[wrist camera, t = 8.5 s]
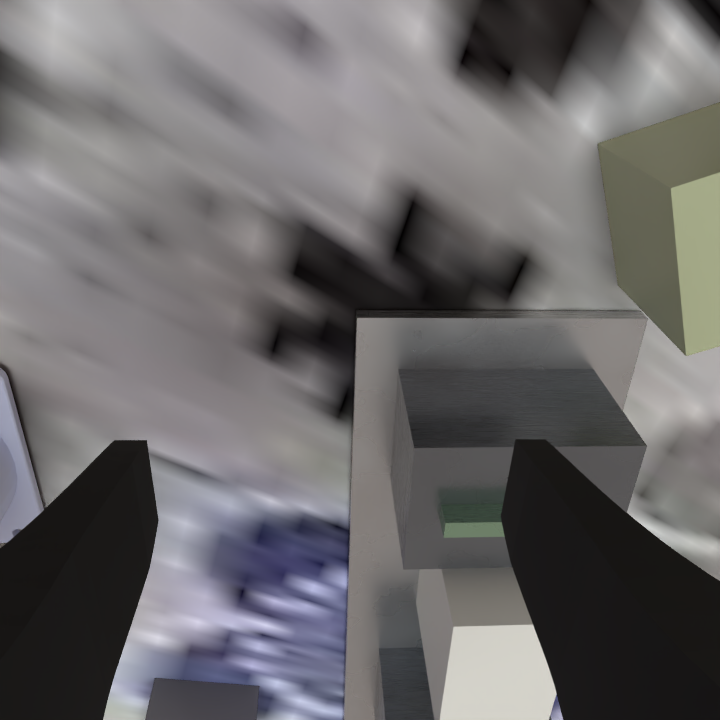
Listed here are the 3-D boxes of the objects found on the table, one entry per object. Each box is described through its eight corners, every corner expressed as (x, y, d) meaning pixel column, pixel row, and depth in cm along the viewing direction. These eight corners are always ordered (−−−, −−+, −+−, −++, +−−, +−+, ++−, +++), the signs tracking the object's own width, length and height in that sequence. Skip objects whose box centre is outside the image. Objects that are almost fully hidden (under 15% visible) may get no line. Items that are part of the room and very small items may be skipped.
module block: (415, 608, 30) (436, 743, 25) (427, 498, 27) (453, 626, 21) (504, 606, 30) (543, 739, 25) (526, 497, 27) (576, 623, 22)
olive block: (617, 284, 23) (686, 356, 19) (596, 143, 21) (670, 188, 16) (734, 247, 23) (832, 312, 18) (728, 98, 20) (839, 133, 16)
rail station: (343, 726, 35) (347, 856, 30) (356, 310, 23) (367, 406, 18) (532, 720, 35) (567, 845, 30) (640, 311, 24) (730, 404, 18)
